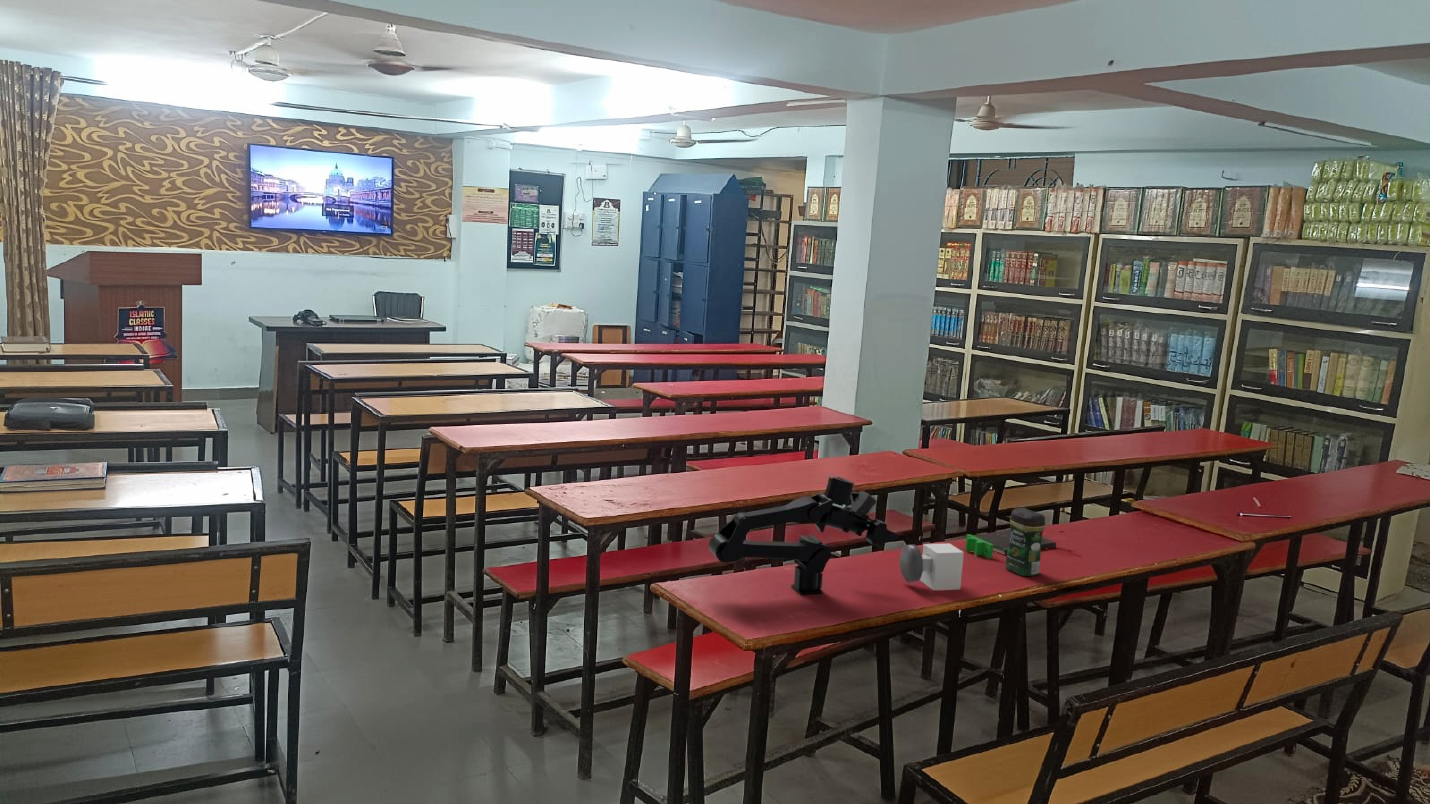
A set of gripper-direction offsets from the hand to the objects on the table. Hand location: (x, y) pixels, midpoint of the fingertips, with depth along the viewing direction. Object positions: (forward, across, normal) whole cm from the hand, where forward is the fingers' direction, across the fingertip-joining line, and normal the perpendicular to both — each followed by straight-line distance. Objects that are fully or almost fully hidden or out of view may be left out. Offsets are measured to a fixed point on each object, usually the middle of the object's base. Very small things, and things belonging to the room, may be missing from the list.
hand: (890, 531), depth 266 cm
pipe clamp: (+45, +22, +3) cm, 50 cm away
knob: (+12, -2, +11) cm, 16 cm away
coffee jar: (+49, +4, +2) cm, 49 cm away
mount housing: (+19, -2, +10) cm, 22 cm away
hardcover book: (+62, +28, -1) cm, 68 cm away
